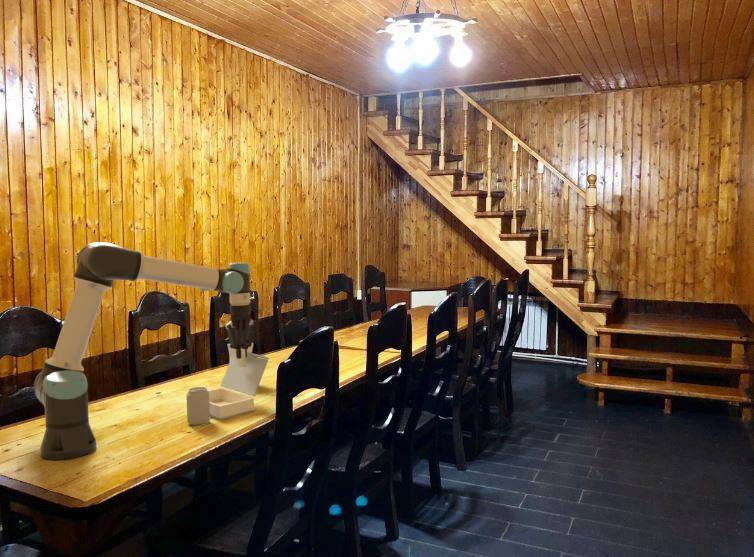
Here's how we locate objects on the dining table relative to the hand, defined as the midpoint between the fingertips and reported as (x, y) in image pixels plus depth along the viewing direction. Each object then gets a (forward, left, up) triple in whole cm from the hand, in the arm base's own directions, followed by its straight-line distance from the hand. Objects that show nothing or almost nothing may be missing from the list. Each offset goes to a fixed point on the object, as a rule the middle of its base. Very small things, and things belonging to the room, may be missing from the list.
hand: (241, 366), depth 237 cm
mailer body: (-9, 0, -15) cm, 17 cm away
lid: (-1, 0, -1) cm, 2 cm away
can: (-23, -8, -15) cm, 28 cm away
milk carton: (+16, +25, -15) cm, 33 cm away
